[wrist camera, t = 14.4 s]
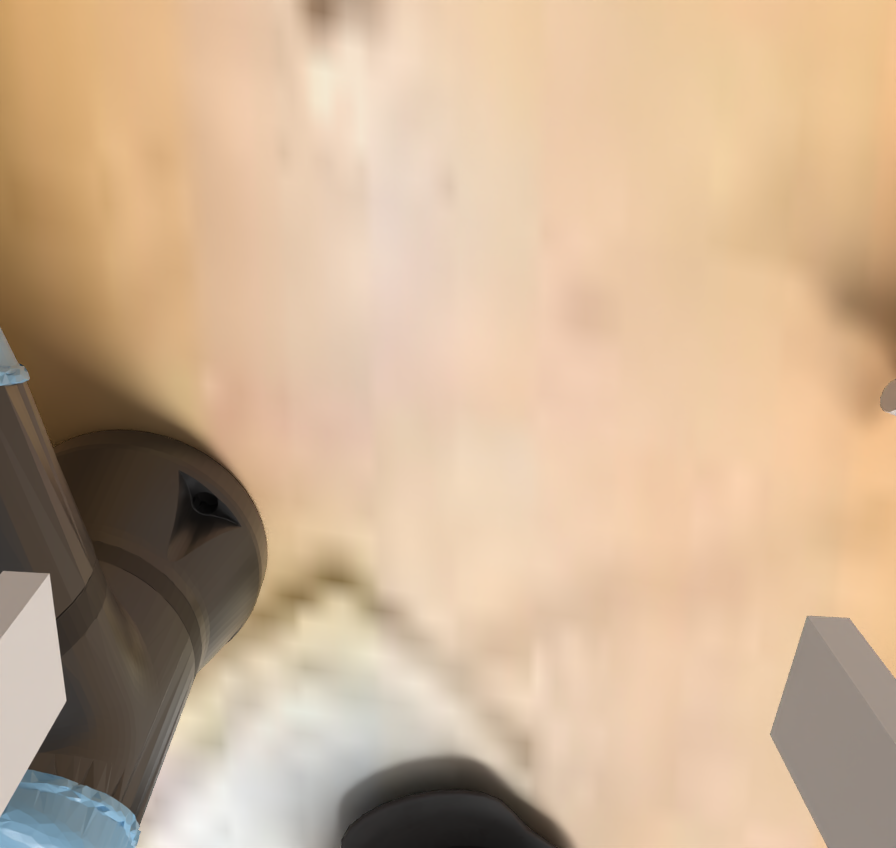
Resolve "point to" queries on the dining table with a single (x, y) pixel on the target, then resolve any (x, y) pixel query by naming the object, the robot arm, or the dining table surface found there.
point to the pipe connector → (889, 398)
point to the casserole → (442, 823)
